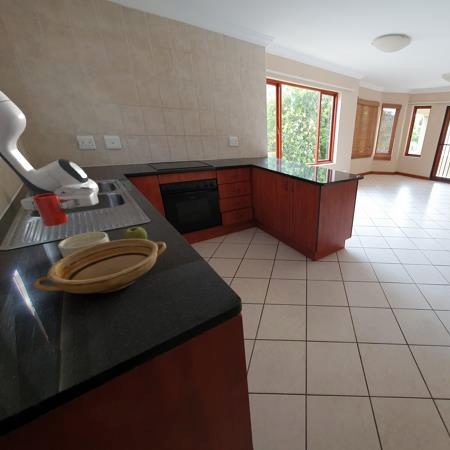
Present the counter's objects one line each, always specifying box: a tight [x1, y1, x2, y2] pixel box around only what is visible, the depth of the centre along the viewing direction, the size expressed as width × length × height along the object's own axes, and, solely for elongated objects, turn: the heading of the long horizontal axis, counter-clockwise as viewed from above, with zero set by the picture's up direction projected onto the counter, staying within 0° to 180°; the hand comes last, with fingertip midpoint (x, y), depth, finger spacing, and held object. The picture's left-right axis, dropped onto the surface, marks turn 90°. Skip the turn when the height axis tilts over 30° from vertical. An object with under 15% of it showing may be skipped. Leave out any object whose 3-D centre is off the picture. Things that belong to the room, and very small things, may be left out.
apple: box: [121, 226, 148, 240], centre depth 87 cm, size 8×8×7 cm
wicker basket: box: [33, 238, 167, 295], centre depth 67 cm, size 30×24×8 cm
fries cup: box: [31, 193, 69, 227], centre depth 82 cm, size 6×6×10 cm
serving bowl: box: [57, 231, 111, 258], centre depth 84 cm, size 13×13×4 cm
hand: (48, 207), depth 81 cm, fingers closed on fries cup, 6 cm apart
